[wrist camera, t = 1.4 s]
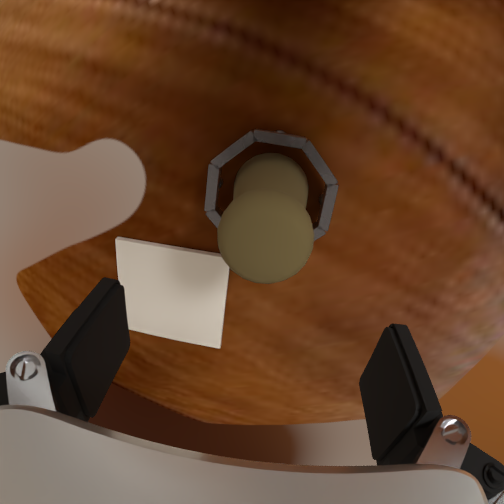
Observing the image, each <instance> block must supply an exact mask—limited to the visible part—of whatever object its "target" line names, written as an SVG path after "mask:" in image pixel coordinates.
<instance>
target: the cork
mask: <svg viewBox="0 0 504 504" xmlns="http://www.w3.org/2000/svg"><path fill="white" fill-rule="evenodd" d="M308 188H309V186H308V182H307V178H306V175H305V173H304V171H303V170H302V168H301V167H300V165H299V164H297V163H296V162H295V161H294V160H292V159H291V158H290V157H287V156H284V155H282V154H279V153H264V154H260V155H256V156H254V157H252V158H251V159H249V160H248V161H246V162H245V163H244V164H243V166H242V167H241V168H240V169H239V171H238V172H237V175H236V178H235V181H234V197H233V201H232V202H231V203H230V205H229V206H228V207H227V208H226V210H225V211H224V212H223V214H222V217H221V220H220V222H219V225H218V228H217V234H218V248H219V250H220V253H221V256H222V258H223V260H224V261H225V263H226V264H227V265H228V266H229V268H230V269H231V270H232V271H233V272H235V273H236V274H238V275H239V276H241V277H242V278H244V279H246V280H249V281H252V282H255V283H265V284H270V283H275V282H280V281H284V280H286V279H288V278H289V277H291V276H293V275H295V274H296V273H297V272H298V271H299V270H300V269H301V268H302V267H303V266H304V265H305V264H306V262H307V260H308V258H309V256H310V254H311V252H312V249H313V242H314V231H313V227H312V222H311V219H310V216H309V214H308V213H307V211H306V210H305V209H306V204H307V198H308Z"/></svg>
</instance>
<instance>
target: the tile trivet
mask: <svg viewBox="0 0 504 504" xmlns="http://www.w3.org/2000/svg"><path fill="white" fill-rule="evenodd" d="M115 243H116V258H117V270H118V281H119V282H120V285H123V286H124V290H125V301H126V311H127V320H128V329H130V330H134V331H138V332H142V333H146V334H151V335H155V336H159V337H164V338H169V339H173V340H178V341H183V342H188V343H193V344H198V345H203V346H208V347H214V348H219V349H220V347H221V340H222V331H223V322H224V313H225V305H226V296H227V287H228V279H229V270H230V268H229V266H228V265H227V264H226V263H225V261H224V260H223V258H222V256H221V254H219V253H213V252H207V251H201V250H195V249H189V248H183V247H177V246H171V245H165V244H159V243H153V242H147V241H141V240H135V239H129V238H123V237H117V238H116V239H115Z"/></svg>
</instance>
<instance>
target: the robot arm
mask: <svg viewBox="0 0 504 504" xmlns="http://www.w3.org/2000/svg"><path fill="white" fill-rule="evenodd" d="M129 347H130V337H129V329H128V320H127V311H126V301H125V290H124V286H123V285H120V282H119V281H118V280H115V279H110V278H103V279H102V280H101V281H100V282H99V283H98V284H97V285H96V287H95V288H94V289H93V290H92V291H91V292H90V294H89V295H88V296H87V297H86V298H85V300H84V301H83V302H82V303H81V304H80V306H79V307H78V308H77V309H76V310H75V311H74V312H73V313H72V314H71V315H70V317H69V318H68V319H67V320H66V322H65V323H64V324H63V325H62V327H61V328H60V329H59V330H58V332H57V333H56V334H55V336H54V337H53V338H52V339H51V341H50V342H49V343H48V345H47V346H46V348H45V349H44V350H43V351H42V353H41V354H38V353H35V352H32V351H23V352H20V353H17V354H16V355H14V356H13V357H12V358H11V359H10V360H9V361H8V363H7V366H6V372H3V373H0V504H504V466H503V465H502V464H501V463H500V462H499V461H497V460H496V459H494V458H493V457H491V456H489V455H488V454H486V453H485V452H483V451H482V450H480V449H479V448H477V447H476V446H474V445H473V444H471V443H470V441H471V431H470V429H469V427H468V425H467V424H466V423H465V421H463V420H462V419H461V418H459V417H457V416H452V415H447V416H444V417H443V415H442V412H441V411H442V409H441V406H440V404H439V401H438V398H437V396H436V393H435V390H434V388H433V385H432V383H431V380H430V378H429V375H428V373H427V370H426V368H425V366H424V363H423V361H422V358H421V356H420V354H419V351H418V349H417V347H416V345H415V342H414V340H413V338H412V336H411V333H410V331H409V329H408V327H407V326H406V325H401V324H391V325H390V326H389V327H386V328H385V329H384V331H383V333H382V335H381V337H380V339H379V341H378V344H377V346H376V348H375V350H374V352H373V354H372V356H371V358H370V360H369V362H368V364H367V366H366V368H365V370H364V372H363V374H362V375H361V378H360V382H359V386H360V391H361V396H362V401H363V407H364V412H365V417H366V422H367V428H368V434H369V440H370V446H371V452H372V457H373V459H374V460H376V461H377V466H308V465H290V464H279V463H268V462H258V461H250V460H242V459H235V458H228V457H222V456H216V455H210V454H205V453H199V452H194V451H189V450H185V449H180V448H175V447H171V446H167V445H162V444H159V443H155V442H150V441H147V440H143V439H140V438H136V437H133V436H129V435H126V434H122V433H119V432H116V431H113V430H110V429H106V428H103V427H100V426H97V425H94V424H91V423H88V420H89V418H90V417H94V416H95V415H96V413H97V411H98V409H99V407H100V404H101V403H102V401H103V398H104V397H105V395H106V393H107V390H108V389H109V386H110V385H111V383H112V381H113V379H114V377H115V375H116V373H117V371H118V369H119V367H120V365H121V363H122V361H123V359H124V358H125V356H126V354H127V352H128V350H129Z"/></svg>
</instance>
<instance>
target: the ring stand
mask: <svg viewBox="0 0 504 504" xmlns="http://www.w3.org/2000/svg"><path fill="white" fill-rule="evenodd" d="M306 139H307V138H306V137H304V136H299V135H293V134H287V133H285V132H284V131H283V130H277V131H269V130H262V129H255V130H254V131H253V130H251V131H249V132H248V133H247V134H245V135H244V136H243V137H241V138H240V139H238V140H237V141H236V142H234V143H233V144H232V145H230V146H229V147H228V148H226V149H225V150H224V151H222V152H221V153H220V154H219V155H217V156H216V157H215V158H213V159H212V160H211V163H210V164H209V167H208V177H207V187H206V198H205V209H204V211H207V212H206V215H207V217H208V218H209V219H210V220H211V221H212V223H213V224H214V225H215V226H216V227H217V228H218V225H219V222H220V220H221V217H222V214H223V211H222V210H221V209H220V207H219V206H218V197H219V189H220V187H221V186H222V184H223V179H222V177H221V169H222V166H223V165H224V164H225V163H227V162H228V161H229V160H231V159H232V158H233V157H235V156H236V155H237V154H239V153H240V152H241V151H243V150H244V149H246V148H247V147H248V146H250V145H251V144H253V143H254V142H255V141H257V142H263V143H270V144H276V145H282V146H288V147H294V148H299V149H302V150H303V151H304V153H305V154H306V155H307V157H308V158H309V160H310V161H311V162H312V164H313V165H314V167H315V168H316V170H317V171H318V173H319V174H320V175H321V177H322V178H323V180H324V181H325V187H324V191H323V193H322V194H321V195H320V196H319V203H320V210H319V214H318V218H317V221H316V222H315V223H313V224H312V227H313V231H314V241H315V240H316V239H318V238H320V237H321V236H323V235H324V234H326V232H325V231H328V228H329V224H330V220H331V216H332V212H333V208H334V203H335V199H336V195H337V190H338V186H339V185H338V184H337V183H338V181H337V180H336V178H335V177H334V175H333V174H332V172H331V171H330V169H329V168H328V166H327V165H326V163H325V162H324V160H323V159H322V158H321V156H320V155H319V153H318V152H317V150H316V149H315V147H314V146H313V145H312V143H311V142H310V140H309V139H307V140H306Z"/></svg>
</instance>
